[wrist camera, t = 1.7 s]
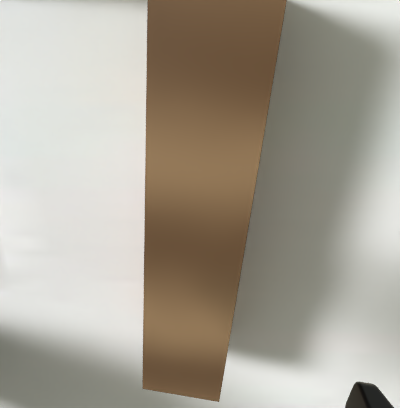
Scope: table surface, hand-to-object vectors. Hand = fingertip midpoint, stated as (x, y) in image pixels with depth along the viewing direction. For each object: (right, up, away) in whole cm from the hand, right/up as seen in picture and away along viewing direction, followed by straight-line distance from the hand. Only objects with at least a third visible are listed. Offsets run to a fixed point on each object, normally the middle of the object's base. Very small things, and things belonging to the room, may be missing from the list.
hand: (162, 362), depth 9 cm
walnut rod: (+1, +4, +8) cm, 9 cm away
